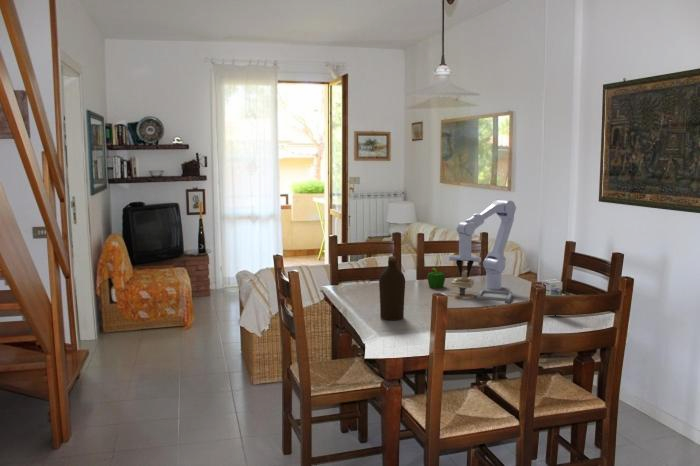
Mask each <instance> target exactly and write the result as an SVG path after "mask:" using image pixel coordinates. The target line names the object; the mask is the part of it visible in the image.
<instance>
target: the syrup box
mask: <svg viewBox="0 0 700 466" xmlns="http://www.w3.org/2000/svg"><path fill="white" fill-rule="evenodd" d="M543 283H544V284H545V285H546V295H562V296H563V281H562V280H560V279H555V278H554V279H542V284H543Z"/></svg>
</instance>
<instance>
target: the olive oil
mask: <svg viewBox="0 0 700 466" xmlns="http://www.w3.org/2000/svg"><path fill="white" fill-rule="evenodd" d="M378 284H379V286H378V287H379V288H378V289H379V310H380V312H379V314H380V319H382V320H385V321H401V320H403V319H404V313H405V295H406V294H405V291H406V278H405V275H404V273H403V272H402V271H401V270H400V269H399V268H398V266H397V257H396V256H395V255H394V256H392V255H391V256H388V260H387V267H386V268H385V269H384V270H383V271H382V272H381V274H380V275H379V279H378Z"/></svg>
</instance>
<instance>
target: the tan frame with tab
mask: <svg viewBox="0 0 700 466" xmlns="http://www.w3.org/2000/svg"><path fill="white" fill-rule="evenodd" d="M474 285H475V279H471V278H470V279H469V277H467V270H463V269H462V277H461V278H453V280H452V281H451V283H450V286H451V288H458V287H461V288H466V289H471V288H472V287H473V286H474Z"/></svg>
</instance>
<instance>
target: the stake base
mask: <svg viewBox="0 0 700 466" xmlns="http://www.w3.org/2000/svg"><path fill="white" fill-rule="evenodd" d="M457 288H458V289H459V290H453V289H452V290H451V291H450V293H449V294H448V295H447V297H457V298H458V297H459V298H467V299H468V298H469V299H471V298H472V299H474V298H475V297H477V295H478V293H479V292H478V291H466V290H467V288H461V287H457Z"/></svg>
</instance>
